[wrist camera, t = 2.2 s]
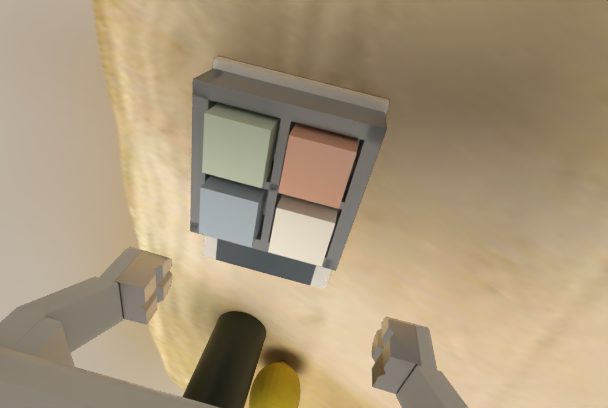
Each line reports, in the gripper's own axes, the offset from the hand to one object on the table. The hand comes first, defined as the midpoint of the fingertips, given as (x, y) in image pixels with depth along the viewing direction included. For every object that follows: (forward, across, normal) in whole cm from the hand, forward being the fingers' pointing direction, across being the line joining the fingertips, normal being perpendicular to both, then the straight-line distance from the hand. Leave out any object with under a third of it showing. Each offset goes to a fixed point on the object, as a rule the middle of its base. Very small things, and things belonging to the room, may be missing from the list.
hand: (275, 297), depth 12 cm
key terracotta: (+12, 0, 0) cm, 12 cm away
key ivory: (+12, 0, +5) cm, 13 cm away
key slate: (+12, +5, +5) cm, 14 cm away
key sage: (+12, +5, 0) cm, 13 cm away
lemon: (+16, -2, +29) cm, 33 cm away
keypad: (+16, +2, +5) cm, 17 cm away
